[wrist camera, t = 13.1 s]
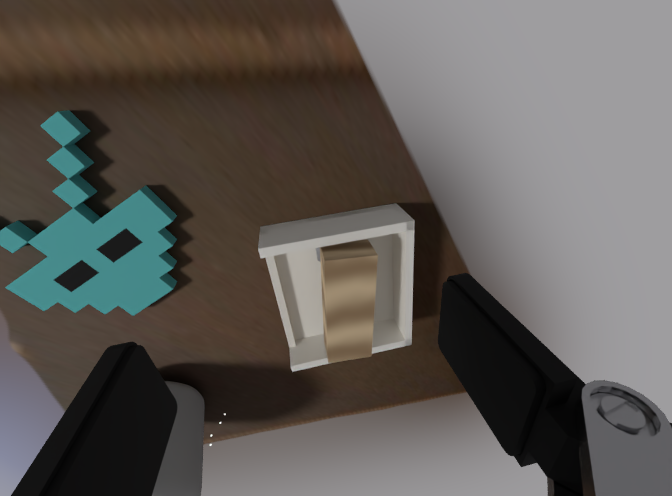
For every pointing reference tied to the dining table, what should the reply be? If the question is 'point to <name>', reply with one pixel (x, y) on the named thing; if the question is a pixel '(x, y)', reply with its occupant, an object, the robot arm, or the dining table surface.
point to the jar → (183, 446)
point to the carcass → (305, 276)
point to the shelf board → (348, 299)
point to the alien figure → (94, 241)
